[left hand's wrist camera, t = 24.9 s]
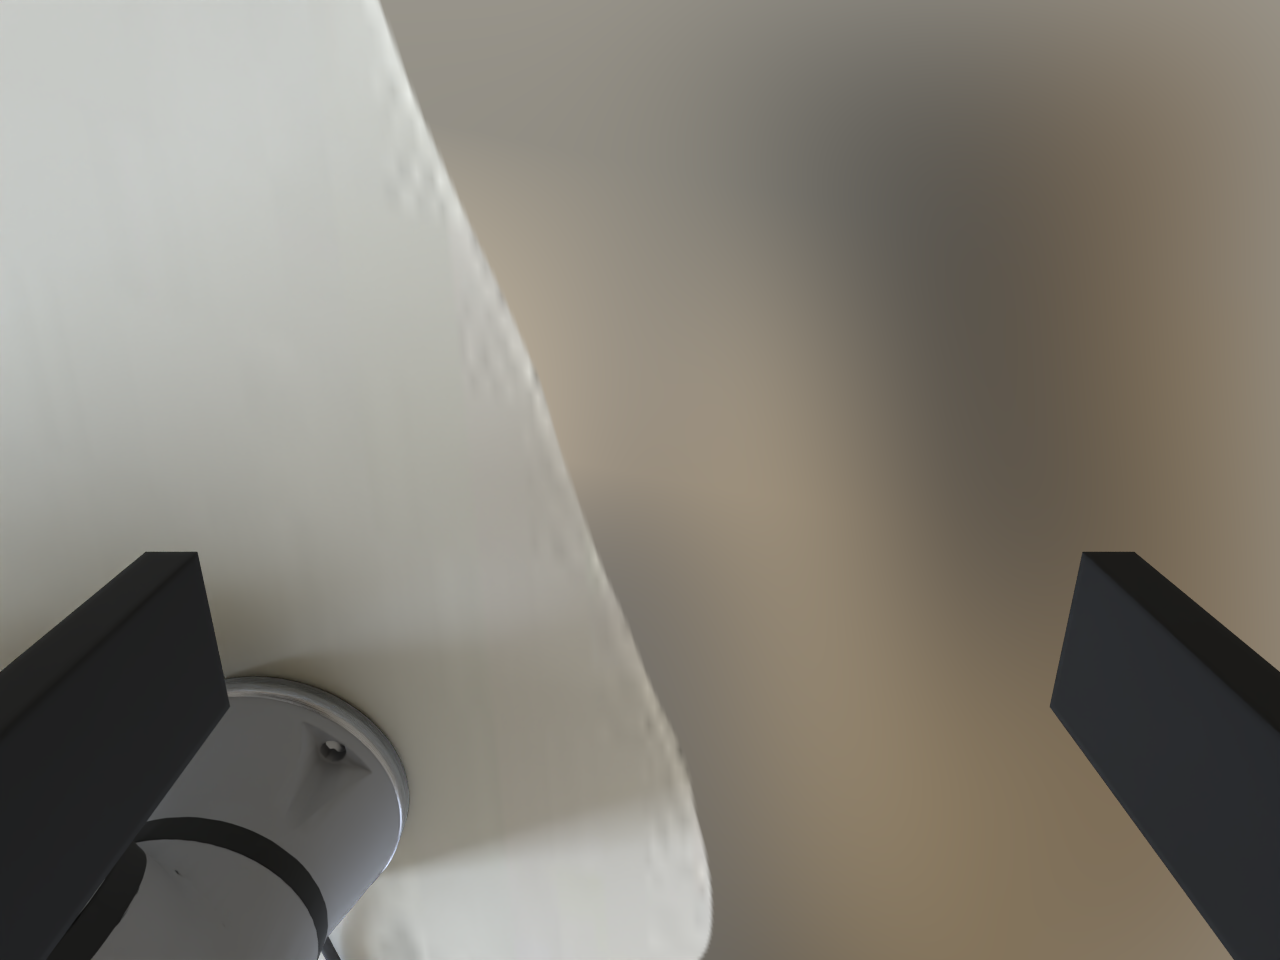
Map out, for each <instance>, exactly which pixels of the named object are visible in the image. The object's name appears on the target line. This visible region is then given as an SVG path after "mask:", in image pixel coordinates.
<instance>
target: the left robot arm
mask: <svg viewBox="0 0 1280 960" xmlns="http://www.w3.org/2000/svg"><path fill="white" fill-rule="evenodd" d="M1050 708H1051V709H1052V710H1053V712H1054V713H1055V715H1056V716H1057V717H1058V719H1059V720H1060V721H1061V723H1062V724H1063V726H1064V727H1065V728H1066V730H1067V731H1068V732H1069V734H1070V735H1071V736H1072V738H1073V739H1074V741H1075V742H1076V743H1077V745H1078V746H1079V747H1080V749H1081V750H1082V752H1083V753H1084V754H1085V756H1086V757H1087V759H1088V760H1089V761H1090V763H1091V764H1092V765H1093V767H1094V768H1095V769H1096V771H1097V772H1098V774H1099V775H1100V776H1101V778H1102V779H1103V780H1104V782H1105V783H1106V785H1107V786H1108V787H1109V789H1110V790H1111V791H1112V793H1113V794H1114V796H1115V797H1116V798H1117V800H1118V801H1119V802H1120V804H1121V805H1122V807H1123V808H1124V809H1125V811H1126V812H1127V813H1128V815H1129V816H1130V818H1131V819H1132V820H1133V822H1134V823H1135V824H1136V826H1137V827H1138V828H1139V830H1140V831H1141V833H1142V834H1143V835H1144V837H1145V838H1146V839H1147V841H1148V842H1149V844H1150V845H1151V846H1152V848H1153V849H1154V851H1155V852H1156V853H1157V855H1158V856H1159V857H1160V859H1161V860H1162V862H1163V863H1164V864H1165V865H1166V867H1167V868H1168V870H1169V871H1170V873H1171V874H1172V875H1173V877H1174V878H1175V879H1176V881H1177V882H1178V883H1179V885H1180V886H1181V888H1182V889H1183V890H1184V892H1185V893H1186V894H1187V896H1188V897H1189V899H1190V900H1191V901H1192V903H1193V904H1194V905H1195V907H1196V908H1197V910H1198V911H1199V912H1200V914H1201V915H1202V916H1203V918H1204V919H1205V920H1206V922H1207V923H1208V925H1209V926H1210V927H1211V929H1212V930H1213V932H1214V933H1215V934H1216V936H1217V937H1218V938H1219V940H1220V941H1221V943H1222V944H1223V945H1224V947H1225V948H1226V949H1227V951H1228V952H1229V954H1230V955H1231V956H1232V958H1233V959H1234V960H1280V672H1279V671H1278V670H1277V669H1276V668H1274V667H1273V666H1272V665H1271V664H1269V663H1268V662H1267V661H1266V660H1265V659H1263V658H1262V657H1261V656H1260V655H1259V654H1257V653H1256V652H1255V651H1254V650H1253V649H1251V648H1250V647H1249V646H1248V645H1246V644H1245V643H1244V642H1243V641H1242V640H1240V639H1239V638H1238V637H1237V636H1236V635H1234V634H1233V633H1232V632H1231V631H1229V630H1228V629H1227V628H1226V627H1225V626H1223V625H1222V624H1221V623H1220V622H1219V621H1217V620H1216V619H1215V618H1214V617H1213V616H1211V615H1210V614H1209V613H1208V612H1206V611H1205V610H1204V609H1203V608H1202V607H1200V606H1199V605H1198V604H1197V603H1196V602H1194V601H1193V600H1192V599H1191V598H1190V597H1188V596H1187V595H1186V594H1185V593H1183V592H1182V591H1181V590H1180V589H1179V588H1177V587H1176V586H1175V585H1174V584H1173V583H1171V582H1170V581H1169V580H1168V579H1166V578H1165V577H1164V576H1163V575H1162V574H1160V573H1159V572H1158V571H1157V570H1156V569H1154V568H1153V567H1152V566H1151V565H1150V564H1148V563H1147V562H1146V561H1145V560H1143V559H1142V558H1141V557H1140V556H1139V555H1137V554H1136V553H1135V552H1082V557H1081V562H1080V567H1079V571H1078V576H1077V581H1076V585H1075V590H1074V595H1073V600H1072V605H1071V609H1070V614H1069V618H1068V623H1067V628H1066V633H1065V637H1064V642H1063V647H1062V651H1061V656H1060V661H1059V666H1058V670H1057V675H1056V680H1055V684H1054V689H1053V694H1052V699H1051V703H1050ZM408 809H409V788H408V782H407V777H406V774H405V771H404V768H403V765H402V763H401V761H400V758H399V756H398V755H397V753H396V751H395V749H394V747H393V746H392V745H391V743H390V742H389V740H388V739H387V738H386V736H385V735H384V734H383V733H382V732H381V730H380V729H379V728H378V727H377V726H376V725H375V724H374V723H373V722H372V721H371V720H370V719H368V718H367V717H366V716H365V715H363V714H362V713H361V712H360V711H358V710H357V709H356V708H354V707H353V706H351V705H350V704H348V703H346V702H345V701H343V700H341V699H340V698H338V697H336V696H334V695H332V694H330V693H327V692H325V691H323V690H320V689H318V688H315V687H313V686H310V685H306V684H303V683H299V682H295V681H291V680H286V679H280V678H272V677H238V678H230V679H225V680H224V675H223V670H222V666H221V661H220V656H219V651H218V647H217V642H216V637H215V633H214V628H213V623H212V618H211V614H210V609H209V604H208V600H207V595H206V590H205V585H204V581H203V576H202V571H201V567H200V562H199V557H198V553H197V552H145V553H144V554H143V555H141V556H140V557H139V558H138V559H137V560H135V561H134V562H133V563H132V564H130V565H129V566H128V567H127V568H126V569H124V570H123V571H122V572H121V573H120V574H118V575H117V576H116V577H115V578H113V579H112V580H111V581H110V582H109V583H107V584H106V585H105V586H104V587H103V588H101V589H100V590H99V591H98V592H97V593H95V594H94V595H93V596H92V597H90V598H89V599H88V600H87V601H86V602H84V603H83V604H82V605H81V606H80V607H78V608H77V609H76V610H75V611H74V612H72V613H71V614H70V615H69V616H67V617H66V618H65V619H64V620H63V621H61V622H60V623H59V624H58V625H57V626H55V627H54V628H53V629H52V630H50V631H49V632H48V633H47V634H46V635H44V636H43V637H42V638H41V639H40V640H38V641H37V642H36V643H35V644H34V645H32V646H31V647H30V648H29V649H27V650H26V651H25V652H24V653H23V654H21V655H20V656H19V657H18V658H17V659H15V660H14V661H13V662H12V663H11V664H9V665H8V666H7V667H6V668H4V669H3V670H2V671H1V672H0V960H318V958H319V955H320V953H321V952H322V953H323V955H324V957H325V959H326V960H341V959H340V958H339V956H338V954H337V952H336V950H335V948H334V947H333V945H332V943H331V941H330V939H329V937H328V935H329V934H330V933H331V932H332V931H333V929H334V928H335V927H336V926H337V925H338V924H339V922H340V921H341V920H342V919H343V918H344V917H345V915H346V914H347V913H348V912H349V911H350V909H351V908H352V907H353V906H354V905H355V904H356V902H357V901H358V900H359V899H360V897H361V896H362V895H363V894H364V892H365V891H366V890H367V889H368V887H369V886H370V885H371V884H372V883H373V882H374V881H375V880H376V879H377V878H378V877H379V875H380V874H381V873H382V872H383V871H384V869H385V868H386V867H387V865H388V864H389V862H390V861H391V859H392V857H393V855H394V853H395V851H396V848H397V845H398V842H399V840H400V837H401V834H402V831H403V828H404V825H405V822H406V819H407V814H408Z"/></svg>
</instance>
